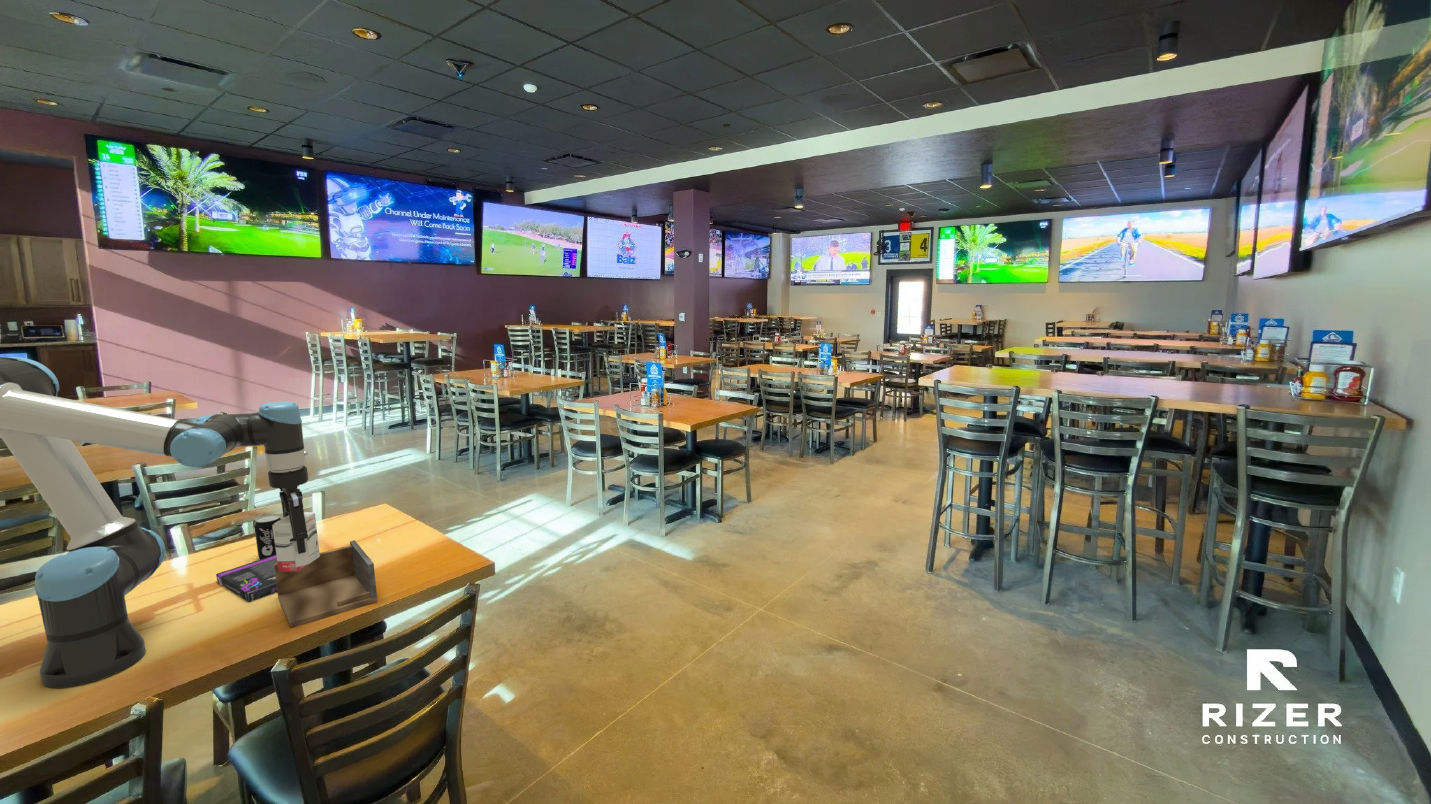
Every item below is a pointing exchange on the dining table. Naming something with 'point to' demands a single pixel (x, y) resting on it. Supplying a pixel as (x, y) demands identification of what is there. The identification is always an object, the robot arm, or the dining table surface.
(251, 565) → the box
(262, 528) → the beverage can
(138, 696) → the dining table surface
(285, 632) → the dining table surface
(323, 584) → the shelf
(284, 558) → the ink box
